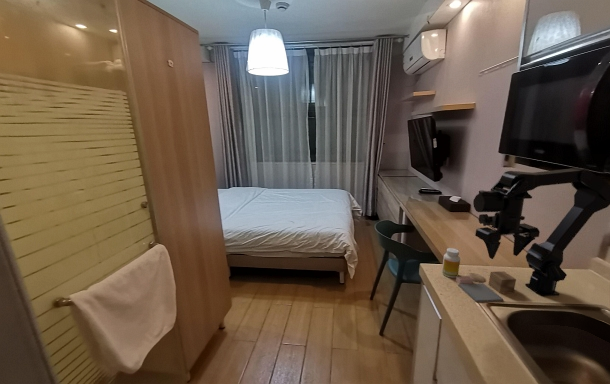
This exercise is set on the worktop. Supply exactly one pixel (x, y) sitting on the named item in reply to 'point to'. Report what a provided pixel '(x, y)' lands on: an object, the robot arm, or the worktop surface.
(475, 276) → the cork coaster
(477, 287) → the slate trivet
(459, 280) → the pink eraser
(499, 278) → the walnut block
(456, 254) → the supplement bottle
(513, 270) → the worktop surface
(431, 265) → the worktop surface
